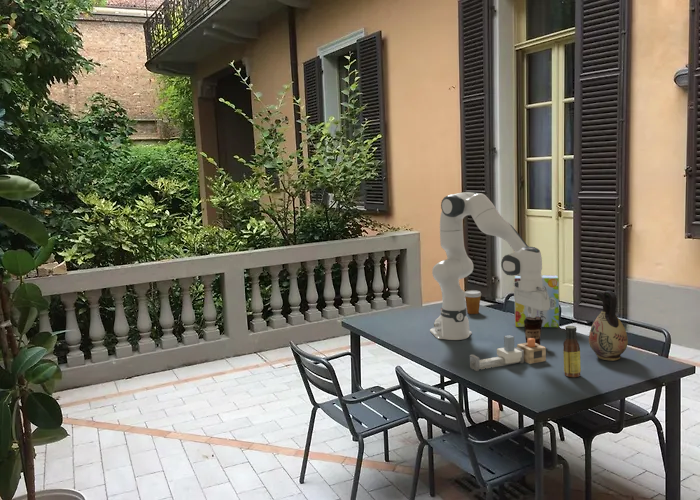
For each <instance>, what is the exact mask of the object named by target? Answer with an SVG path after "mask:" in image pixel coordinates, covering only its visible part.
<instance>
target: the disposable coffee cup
mask: <svg viewBox="0 0 700 500" xmlns="http://www.w3.org/2000/svg"><path fill="white" fill-rule="evenodd" d="M464 292H465V307H466V311H467V312H466V314H469V315H478V314H479V313H480V304H481V296H482V293H481V291H480V290H475V289H471V290H466V291H464Z"/></svg>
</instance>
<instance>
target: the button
mask: <svg viewBox="0 0 700 500" xmlns="http://www.w3.org/2000/svg"><path fill="white" fill-rule="evenodd" d="M527 347H530V348H532V347H535V339H534V338H528V339H527Z"/></svg>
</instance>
